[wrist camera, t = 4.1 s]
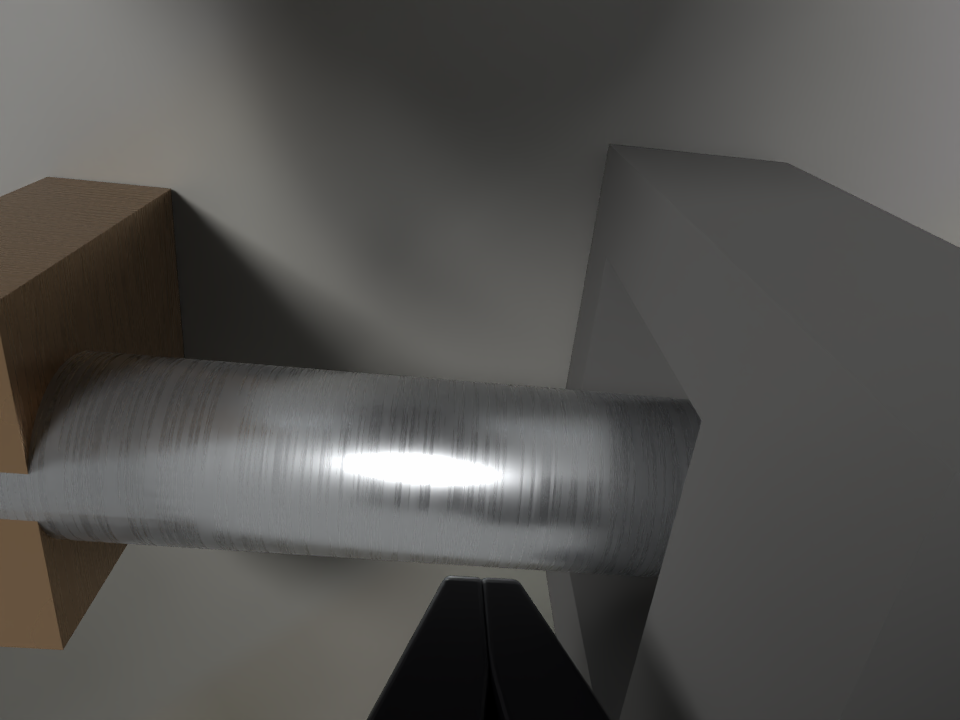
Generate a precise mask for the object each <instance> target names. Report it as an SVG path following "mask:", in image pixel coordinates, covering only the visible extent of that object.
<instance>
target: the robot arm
mask: <svg viewBox="0 0 960 720" xmlns="http://www.w3.org/2000/svg"><path fill="white" fill-rule="evenodd" d="M367 720H612V719H611V718H610V716H609V715H608V713H607V712H606V710H605V709H604V707H603V706H602V704H601V703H600V701H599V700H598V698H597V697H596V695H595V694H594V692H593V691H592V689H591V688H590V686H589V685H588V684H587V682H586V681H585V679H584V678H583V676H582V675H581V673H580V672H579V670H578V669H577V667H576V666H575V664H574V663H573V661H572V660H571V658H570V657H569V655H568V654H567V652H566V651H565V649H564V648H563V646H562V645H561V643H560V642H559V640H558V639H557V637H556V636H555V634H554V633H553V631H552V630H551V628H550V627H549V625H548V624H547V622H546V621H545V619H544V618H543V616H542V615H541V613H540V612H539V610H538V609H537V607H536V606H535V604H534V603H533V601H532V600H531V598H530V597H529V595H528V594H527V592H526V591H525V589H524V588H523V587H522V585H521V584H520V583H519V582H518V581H517V580H514V579H501V578H484V579H482V580H481V579H480V578H478V577H465V576H448V577H446V578H445V579H444V580H443V581H442V583H441V585H440V586H439V588H438V590H437V592H436V594H435V596H434V597H433V599H432V601H431V603H430V605H429V607H428V608H427V610H426V612H425V614H424V616H423V618H422V619H421V621H420V623H419V625H418V627H417V629H416V630H415V632H414V634H413V636H412V638H411V640H410V641H409V643H408V645H407V647H406V649H405V651H404V652H403V654H402V656H401V658H400V660H399V662H398V663H397V665H396V667H395V669H394V671H393V673H392V674H391V676H390V678H389V680H388V682H387V684H386V685H385V687H384V689H383V691H382V693H381V695H380V696H379V698H378V700H377V702H376V704H375V706H374V707H373V709H372V711H371V713H370V715H369V716H368V718H367Z"/></svg>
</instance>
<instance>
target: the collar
mask: <svg viewBox="0 0 960 720" xmlns="http://www.w3.org/2000/svg"><path fill="white" fill-rule="evenodd" d="M566 389H567V390H579V391H592V392H604V393H616V394H628V395H641V396H653V397H665V398H678V399H689V400H690V401H691V403H692V405H693V407H694V408H695V410H696V412H697V414H698V415H699V417H700V419H701V420H702V422H701V425H700V429H699V432H698V436H697V440H696V443H695V447H694V451H693V454H692V458H691V461H690V465H689V469H688V472H687V476H686V480H685V483H684V487H683V490H682V494H681V498H680V501H679V505H678V509H677V512H676V516H675V519H674V523H673V527H672V530H671V534H670V538H669V541H668V545H667V548H666V552H665V556H664V559H663V563H662V567H661V570H660V574H659V577H658V578H656V577H640V576H625V575H609V574H593V573H578V572H562V571H546V575H547V581H548V588H549V595H550V601H551V608H552V614H553V621H554V627H555V634H556V637H557V639H558V640H559V642H560V643H561V645H562V646H563V648H564V649H565V651H566V652H567V654H568V655H569V657H570V658H571V660H572V661H573V663H574V664H575V666H576V667H577V669H578V670H579V672H580V673H581V675H582V676H583V678H584V679H585V681H586V682H587V684H588V685H589V686H590V688H591V689H592V691H593V692H594V694H595V695H596V697H597V698H598V700H599V701H600V703H601V704H602V706H603V707H604V709H605V710H606V712H607V713H608V715H609V716H610V718H611V719H612V720H960V248H959V247H957V246H955V245H953V244H951V243H949V242H947V241H945V240H943V239H941V238H939V237H937V236H935V235H933V234H931V233H929V232H927V231H925V230H923V229H920V228H918V227H916V226H914V225H912V224H910V223H908V222H906V221H904V220H902V219H900V218H898V217H896V216H894V215H892V214H890V213H888V212H886V211H884V210H882V209H880V208H878V207H876V206H874V205H872V204H870V203H868V202H866V201H864V200H862V199H860V198H857V197H855V196H853V195H851V194H849V193H847V192H845V191H843V190H841V189H839V188H837V187H835V186H833V185H831V184H829V183H827V182H825V181H823V180H821V179H819V178H817V177H815V176H813V175H811V174H809V173H807V172H805V171H803V170H801V169H799V168H796V167H794V166H792V165H790V164H788V163H783V162H774V161H764V160H755V159H745V158H736V157H726V156H717V155H707V154H698V153H688V152H679V151H669V150H660V149H650V148H641V147H631V146H622V145H612V144H609V148H608V154H607V160H606V165H605V171H604V176H603V182H602V188H601V193H600V199H599V205H598V210H597V216H596V221H595V227H594V233H593V238H592V244H591V250H590V255H589V261H588V266H587V272H586V278H585V283H584V289H583V295H582V300H581V306H580V311H579V317H578V323H577V328H576V334H575V340H574V345H573V351H572V356H571V362H570V368H569V373H568V379H567V385H566Z"/></svg>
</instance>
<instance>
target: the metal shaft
mask: <svg viewBox="0 0 960 720" xmlns="http://www.w3.org/2000/svg"><path fill="white" fill-rule="evenodd" d="M701 422H702V420H701V419H700V417H699V415H698V414H697V412H696V410H695V408H694V407H693V405H692V403H691V401H690V400H689V399H678V398H665V397H653V396H641V395H628V394H616V393H604V392H592V391H579V390H567V389H555V388H542V387H530V386H518V385H505V384H493V383H481V382H469V381H456V380H444V379H432V378H419V377H407V376H395V375H382V374H370V373H358V372H346V371H333V370H321V369H309V368H296V367H284V366H272V365H259V364H247V363H235V362H223V361H210V360H198V359H186V358H184V349H183V336H182V324H181V311H180V299H179V286H178V273H177V261H176V248H175V236H174V223H173V211H172V198H171V189H168V188H158V187H147V186H137V185H127V184H117V183H106V182H96V181H86V180H75V179H65V178H55V177H46V178H44V179H41V180H39V181H37V182H34V183H32V184H30V185H27V186H25V187H22V188H20V189H18V190H15V191H13V192H11V193H8V194H6V195H4V196H1V197H0V646H1V647H20V648H38V649H57V650H63V649H64V647H65V646H66V644H67V642H68V641H69V639H70V637H71V636H72V634H73V632H74V631H75V629H76V628H77V626H78V624H79V623H80V621H81V619H82V618H83V616H84V614H85V613H86V611H87V610H88V608H89V606H90V605H91V603H92V601H93V600H94V598H95V597H96V595H97V593H98V592H99V590H100V588H101V587H102V585H103V583H104V582H105V580H106V579H107V577H108V575H109V574H110V572H111V570H112V569H113V567H114V565H115V564H116V562H117V561H118V559H119V557H120V556H121V554H122V552H123V551H124V549H125V547H126V546H127V544H139V545H155V546H171V547H186V548H202V549H218V550H233V551H249V552H265V553H280V554H296V555H312V556H327V557H343V558H359V559H374V560H390V561H406V562H421V563H437V564H452V565H468V566H484V567H499V568H515V569H531V570H546V571H562V572H578V573H593V574H609V575H625V576H640V577H656V578H658V577H659V574H660V570H661V567H662V563H663V559H664V556H665V552H666V548H667V545H668V541H669V538H670V534H671V530H672V527H673V523H674V519H675V516H676V512H677V509H678V505H679V501H680V498H681V494H682V490H683V487H684V483H685V480H686V476H687V472H688V469H689V465H690V461H691V458H692V454H693V451H694V447H695V443H696V440H697V436H698V432H699V429H700V425H701Z"/></svg>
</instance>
